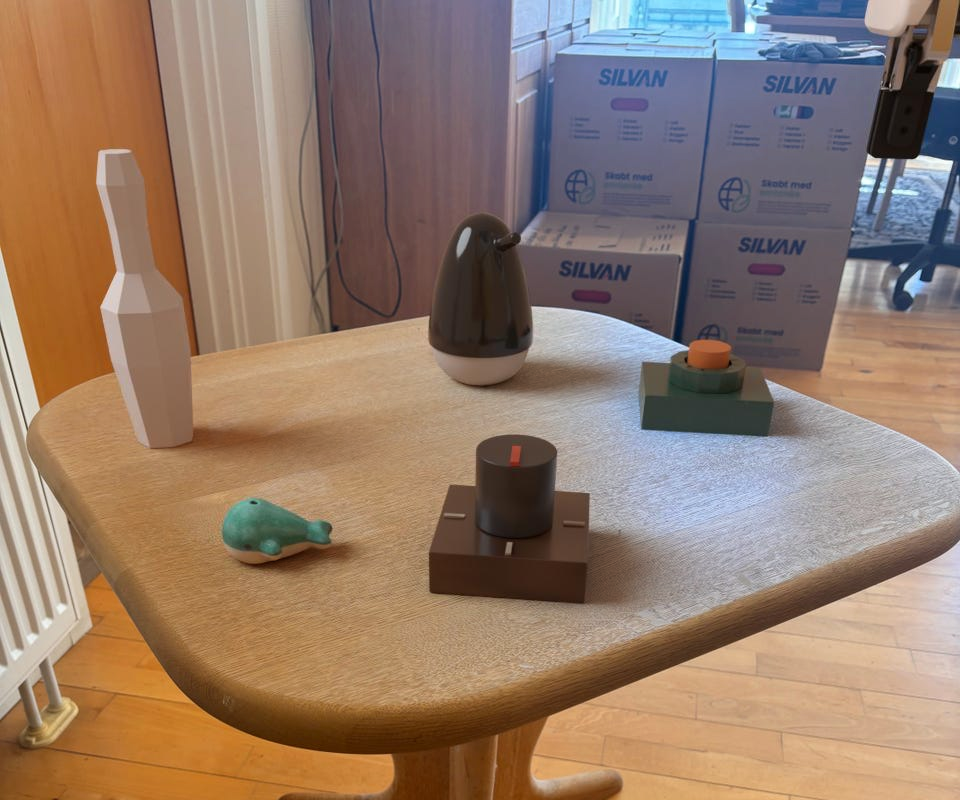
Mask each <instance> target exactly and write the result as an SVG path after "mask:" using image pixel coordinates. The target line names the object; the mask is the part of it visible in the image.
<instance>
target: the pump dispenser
mask: <svg viewBox="0 0 960 800" xmlns="http://www.w3.org/2000/svg"><path fill="white" fill-rule="evenodd" d="M521 242H522V236H521V234H520V233H519V232H518V231H513V232H511V230H510V228H509V227H508V225H507V223H505V221H503V220H502V219H501V218H500V217H499V216H496V215H495V214H492V213H489V212H476V213H472V214H470V215H468V216H465V217H464V218H463V219H462V220H460V221H459V223H458V224H457V225H456V227H455V228H454V230H453V232H452V233H451V235H450V237H449V239H448V241H447V243H446V246H445V248H444V251H443V254H442V256H441V261H440V264H439V267H438V271H437V275H436V278H435V281H434V286H433V292H432V297H431V302H430V310H429V317H428V327H427V340H428V344H429V346H431V349H432V352H433V357H434V359H435V361H436V363H437V365H438V366H439V367H440V369H441V370H442V372H443V373H445V375H447V376H448V377H450V378H451V379H453V380H454V381H457V382H459V383H462V384H465V385H470V386H491V385H496V384H501V383H502V382H505V381H507V380H509V379H511V378H512V377H513V376H514V375H516V374H517V373H518V372H519V371H520V369H521V368H522V366H523V365H524V363H525V362H526V359H527V356H528V354H529V350H530V348H531V347H532V346H533V344H534V320H533V319H534V318H533V309H532V300H531V295H530V289H529V288H530V287H529V284H528V279H527V274H526V271H525V267H524V263H523V260H522V259H523V258H522V256H521V253H520V250H519V247H518V245H519V244H521Z"/></svg>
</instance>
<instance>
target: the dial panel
mask: <svg viewBox="0 0 960 800" xmlns="http://www.w3.org/2000/svg"><path fill="white" fill-rule="evenodd" d="M590 499H591V493H590V492H583V491H582V492H579V491H564V490H563V491H561V490H555V497H554V512H553V523H552V525H551V527H550V528H549V529H548V530H547V531H545V532H544V533H541V534H539V535H536V536H532V537H526V538H506V537H500V536H496V535H492V534H490V533H487V532H485V531H484V530H482V529H481V528H480V527H479V526H478V525H477V523H476V521H475V485H466V484H449V486H448V488H447V491H446V495H445V499H444V501H443V504H442V507H441V511H440V514H439V518H438V521H437V525H436V528H435V531H434V534H433V537H432V541H431V543H430V547H429V551H428V590H429V593H436V594H447V595H448V594H449V595H461V596H462V595H464V596H478V597H491V598H506V599H518V600H519V599H520V600H532V601H533V600H534V601H547V602H560V603H561V602H563V603H578V604H584V603H585V598H586V597H585V596H586V588H587V587H586V586H587V575H588V566H589V533H590V506H591V505H590V504H591V503H590V501H591V500H590Z"/></svg>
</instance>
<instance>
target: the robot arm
mask: <svg viewBox="0 0 960 800" xmlns="http://www.w3.org/2000/svg"><path fill="white" fill-rule="evenodd" d="M864 25H865V27H866V29H867V30H868V31H869V32H870V33H872V34H876V35H880V36H885V37H888V39H887V47H886V53H885V58H884V64H883V69H882V75H881V81H880V88H879V90H878V94H877V97H876V103H875V107H874V110H873V111H874V112H873V116H872V121H871V126H870V129H869V135H868V140H867V145H866V149H865V150H866V153H867V154H868V155H869V156H871V157H872V158H874V159H883V160H884V159H886V160H887V159H888V160H889V159H890V160H916V159H917V158H918V157H919V156H920V154H921V150H922V145H923V142H924V138H925V133H926V129H927V125H928V121H929V117H930V113H931V109H932V105H933V100H934V97H935V92H936V90H937V87H938V83H939V80H940V78H941V77H940V76H941V73H942V70H943V66H944V63H945V62H946V61H948V59H949V57H950V54H951V49H952V44H953V39H960V0H868V1H867V5H866V10H865V15H864ZM915 30H925V31H926V32H915Z"/></svg>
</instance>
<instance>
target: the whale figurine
mask: <svg viewBox="0 0 960 800" xmlns="http://www.w3.org/2000/svg"><path fill="white" fill-rule="evenodd" d="M221 526H222V527H221V536H222V543H223V546H224V548H225V550H226V552H227V553H228V555H230V556H231V557H232V558H233V559H235V560H237V561H239V562H242V563H246V564H253V565H256V564H264V563H268V562H271V561H272V562H273V561H277V560H280V559H283V558H287V557H290V556H293V555H296V554H298V553H301V552H304V551H305V550H307V549H310V548H314V549H318V550H324V549H327V548H329V547H330V546H331V545H332V540H331V537H330V535H331V534H332V532H333V529H334V528H333V525H332V524H331V523H330V522H328V521H326V520H321V519H316V520H313V521H310V520H307V519H305V518H304V517H302V516H300V515H298V514H296V513H294V512H292V511H291V510H288V509H286V508H284V507H281V506H279V505H277V504H274V503H272V502H271V501H269V500H265V499H263V498H259V497H249V498H245V499H243V500H240V501H238V502H237V503H235V504H234V505H232V507H231V508H229V510H228V511H227V513H226V514H225V516H224V518H223V521H222V525H221Z"/></svg>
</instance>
